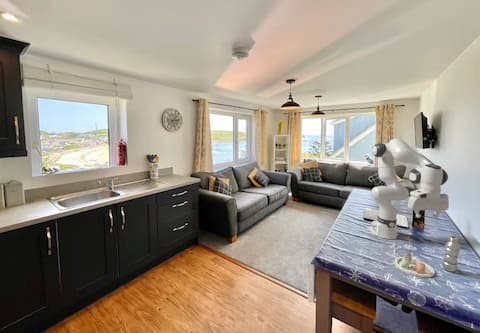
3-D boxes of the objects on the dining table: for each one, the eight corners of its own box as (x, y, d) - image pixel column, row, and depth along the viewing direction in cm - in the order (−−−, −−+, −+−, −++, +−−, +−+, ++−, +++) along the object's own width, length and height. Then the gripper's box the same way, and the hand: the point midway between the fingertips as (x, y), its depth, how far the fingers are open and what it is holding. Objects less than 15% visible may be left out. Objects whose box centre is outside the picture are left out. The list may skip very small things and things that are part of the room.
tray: (387, 260, 138) (388, 256, 138) (417, 260, 138) (417, 257, 138) (409, 278, 120) (409, 275, 120) (442, 279, 120) (443, 275, 120)
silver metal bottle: (456, 269, 129) (461, 237, 126) (457, 275, 124) (462, 241, 121) (441, 265, 133) (446, 233, 130) (441, 270, 128) (446, 237, 125)
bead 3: (414, 270, 126) (415, 262, 125) (420, 270, 126) (422, 262, 125) (419, 274, 122) (420, 266, 122) (426, 274, 122) (427, 266, 122)
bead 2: (399, 265, 131) (400, 257, 130) (406, 265, 131) (406, 257, 130) (404, 269, 127) (405, 261, 127) (410, 269, 127) (411, 261, 127)
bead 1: (402, 260, 136) (402, 253, 135) (407, 260, 136) (408, 253, 135) (406, 264, 132) (407, 256, 132) (412, 264, 132) (413, 256, 132)
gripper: (443, 192, 127) (440, 215, 129) (407, 192, 127) (404, 215, 129) (453, 195, 121) (450, 219, 123) (415, 195, 121) (412, 219, 123)
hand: (426, 217), depth 126 cm, fingers open, 8 cm apart
